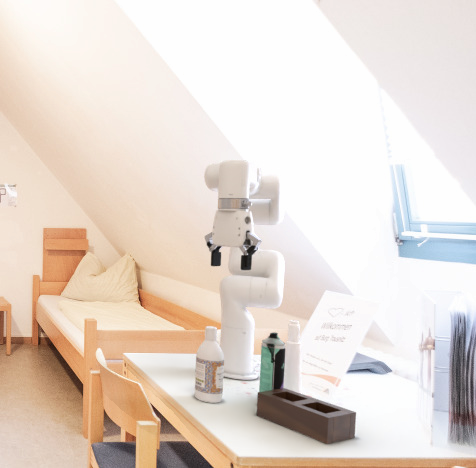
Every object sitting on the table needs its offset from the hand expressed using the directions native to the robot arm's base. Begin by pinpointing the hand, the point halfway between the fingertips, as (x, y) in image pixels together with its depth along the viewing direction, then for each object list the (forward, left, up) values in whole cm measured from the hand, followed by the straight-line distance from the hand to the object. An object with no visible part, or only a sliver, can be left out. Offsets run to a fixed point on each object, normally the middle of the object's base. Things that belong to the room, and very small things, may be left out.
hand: (230, 268), depth 146 cm
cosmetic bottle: (-17, +7, -36) cm, 41 cm away
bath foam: (+5, -1, -36) cm, 37 cm away
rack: (-2, +21, -36) cm, 42 cm away
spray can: (-6, +9, -36) cm, 38 cm away
